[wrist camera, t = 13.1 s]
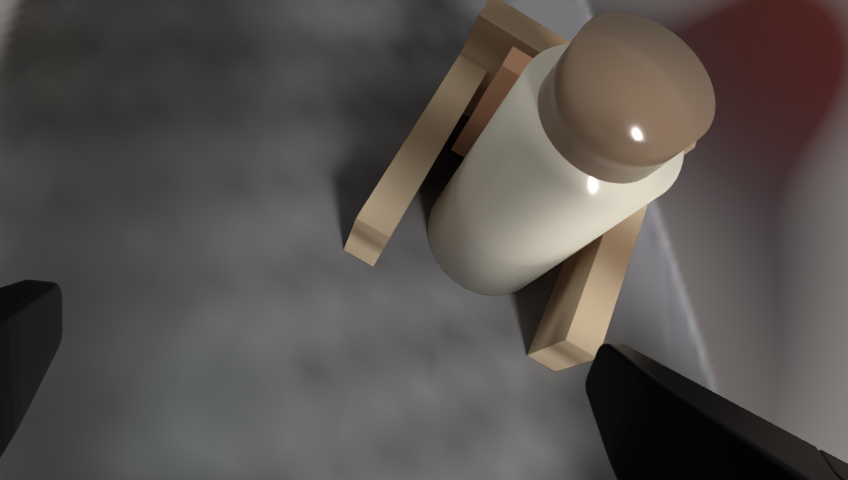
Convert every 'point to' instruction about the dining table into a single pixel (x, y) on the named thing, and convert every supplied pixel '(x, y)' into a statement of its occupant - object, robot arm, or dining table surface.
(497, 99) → the plate
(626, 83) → the jar
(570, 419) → the dining table surface
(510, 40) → the wooden frame
